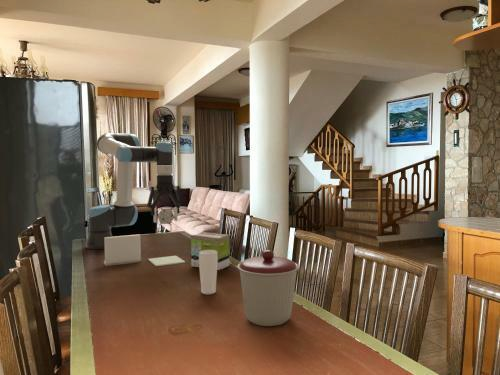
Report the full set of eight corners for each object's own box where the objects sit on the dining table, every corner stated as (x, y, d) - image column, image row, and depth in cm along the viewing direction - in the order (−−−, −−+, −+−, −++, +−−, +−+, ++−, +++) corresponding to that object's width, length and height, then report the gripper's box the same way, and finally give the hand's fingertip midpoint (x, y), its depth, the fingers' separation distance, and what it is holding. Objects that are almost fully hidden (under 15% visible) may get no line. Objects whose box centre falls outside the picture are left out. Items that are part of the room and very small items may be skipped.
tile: (148, 260, 192) (148, 258, 192) (175, 256, 199) (175, 255, 199) (155, 266, 180) (155, 265, 180) (185, 262, 187) (185, 261, 187)
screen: (103, 263, 187) (103, 236, 186) (138, 259, 194) (137, 233, 193) (105, 266, 181) (105, 238, 180) (140, 261, 189) (140, 235, 188)
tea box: (190, 267, 179) (190, 234, 178) (203, 262, 188) (202, 231, 187) (218, 271, 172) (218, 237, 171) (230, 265, 181) (230, 233, 180)
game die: (169, 231, 190) (181, 214, 192) (164, 228, 182) (177, 210, 184) (155, 222, 193) (167, 205, 195) (149, 218, 184) (162, 200, 186)
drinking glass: (220, 290, 145) (220, 250, 144) (213, 296, 139) (212, 254, 138) (204, 288, 147) (203, 249, 147) (195, 294, 141) (195, 253, 140)
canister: (262, 304, 131) (262, 241, 129) (310, 318, 119) (310, 249, 118) (225, 321, 117) (224, 251, 115) (275, 338, 105) (274, 260, 104)
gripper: (143, 175, 179) (144, 224, 180) (189, 174, 189) (190, 220, 190) (139, 174, 185) (140, 222, 187) (184, 174, 196) (185, 218, 197)
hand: (165, 221), depth 188 cm, fingers closed on game die, 9 cm apart
